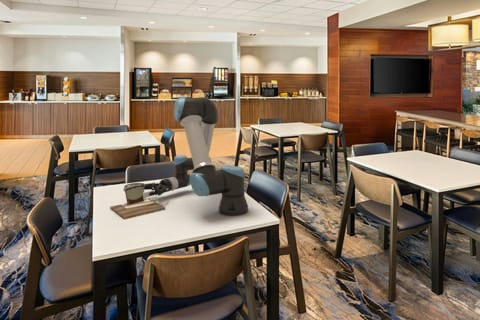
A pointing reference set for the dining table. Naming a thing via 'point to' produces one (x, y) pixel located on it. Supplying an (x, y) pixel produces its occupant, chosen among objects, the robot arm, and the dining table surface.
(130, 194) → the food container
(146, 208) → the board
